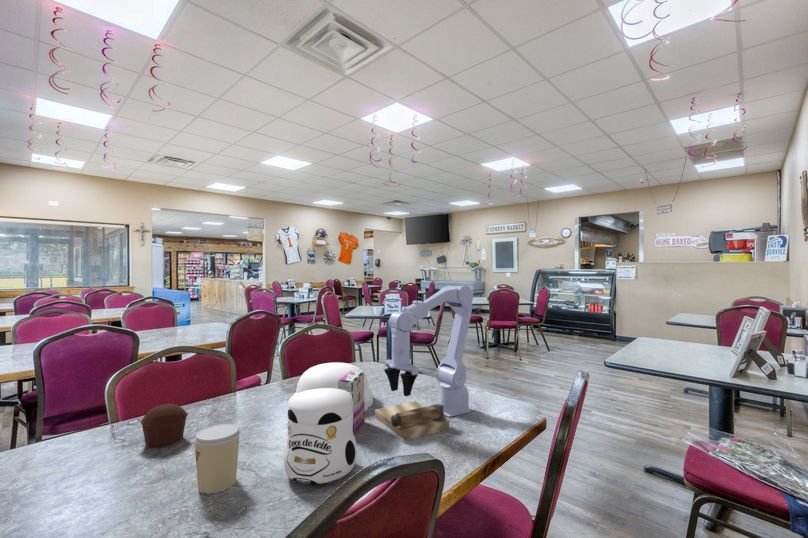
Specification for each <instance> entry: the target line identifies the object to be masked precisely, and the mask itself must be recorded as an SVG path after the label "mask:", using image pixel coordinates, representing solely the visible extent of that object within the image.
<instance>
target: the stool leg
mask: <svg viewBox="0 0 808 538" xmlns="http://www.w3.org/2000/svg"><path fill="white" fill-rule="evenodd" d="M443 416H445V415H444V406H443V405H441V403H436V404H433V405H427V406H425V407H422V408H418V409H413V410H408V411H404V412H399V413H396V415H392V417H391V423H392V425H393V427H397V426H400V427H403V426H407V425H411V424H415V423H419V422H424V421H428V420H432V419H436V418H440V417H443Z"/></svg>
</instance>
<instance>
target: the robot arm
mask: <svg viewBox="0 0 808 538" xmlns="http://www.w3.org/2000/svg"><path fill="white" fill-rule="evenodd" d="M473 299H474V293H473V290H472V289H471V288H470V287H469V286H467V285H449V284H448V285H444V287H443V286H442V287H441V288H440V290H438V291H437V292H436V293H433V294H432V295H431V296H429V297H428V298H426V299H425V300H424V301H422V300H413V301H412V304H410V305H408V306H407V307H402V308H401V310H400V311H394V312H392V313H391V315H390V317H389V319H388V320H387V324H388V327H389V328H390V333H391V359H385V360H384V367H387V368H385V369H384V370H383V371H384V373H385V374H386V377H387V380H388V383H389V386H390V391H391V392H395V391H398V389H399V378H401V382H402V389H403V390H402V391H403V396H404V397H409V396H411V394H412V390H413V386H414V383H415V381H416V379H417V378H418V376H419V367H417V366H416V365H413V364H412V363H410V362H411V361H410V360H411V358H410V355H411V354H410V351H411V349H410V348H411V347H410V346H411V345H410V344H411V343H410V340H411V339H410V335H411V330H412V328H413V326H414V325H415V324H416V323H417V322H418V321H421V320H422V319H424V318H425V317H427V316H428V314H429V311H430V310H433V309H434V308H436V307H438V306H439V305H442V304H443V303H446V304H447V305H448V306H449V307H450V308H452V309H453V311H454V313H455V315H454V320H453V324H452V329H451V334H450V338H449V342H448V347H447V352H446V356H445V357H443V358H442V359H441V360H440V363H439V365H438V367H437V369H436V371H435V377H436V379H437V380H436V381H439V385H440V404H441V405H443V406H444V416H445V417H446V418H447V417H448V418H451V417H454V416H455V417H456V416H459V415H463V414H467V413H471V410H470V409H469V394H470V393H469V390H468V388H467V386H466V385H465V383H466V381H467V375H466V374H467V366H466V365H465V363H464V362H463V361H464V360H463V357H464V356H463V355H464V351H465V346H466V341H467V336H468V331H469V326H470V321H471V317H472V312H473V311H472V308H473V307H472V305H473V304H472V303H473ZM401 371H403V372H404V373H403V372H402V373H401Z"/></svg>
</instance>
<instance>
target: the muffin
mask: <svg viewBox="0 0 808 538" xmlns="http://www.w3.org/2000/svg"><path fill="white" fill-rule="evenodd" d="M188 415H189V413H188V412H187V411H186V410H185V409H184V408H183V407H182V406H180V405H178V404H175V403H164V404H159V405H157V406H155V407H153V408H151V409H150V410H149V411H147V413H146V414H145V415H144V416H143V418H142V419H141V421H140V425H141V426H142V430H143V432H142V433H143V437H144V443H145V446H147V447H148V446H149V447H148V449H155V448H156V449H161V448H165V447H170V446H173V445H175V444H177V443H179V442H181V440H182V439H183V437H184V432H185V427H186V421H187V417H188ZM176 442H177V443H176ZM174 443H175V444H174ZM150 447H151V448H150ZM152 447H153V448H152Z"/></svg>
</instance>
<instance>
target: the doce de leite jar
mask: <svg viewBox="0 0 808 538" xmlns="http://www.w3.org/2000/svg"><path fill="white" fill-rule="evenodd" d="M294 394H295V393H294ZM294 394H293V395H292V396H291V397H290V398H289V399H288V402H287V418H286V419H287V423H286V424H287V437H286V441H285V447H284V450H283V457H282V458H283V459H282V461H283V468H284V471H285V473H286V476H287V477H288V478H289V479H290V480H291V481H292V482H295V483H297V484H299V485H302V486H311V487H315V486H317V487H318V486H325V485H329V484H331V483H335V482H338V481H339V480H341V479H343V478H345V477H346V476H348V475H349V473H351V471H352V470H353V469H354V467H355V465H356V460H357V454H358V451H357V450H358V449H357V448H358V447H357V441H356V437H355V434H354V433H353V399H352V395H351V394H350V392H347V391H345V390H341V389H335V388H320V389H312V390H306V391H303V392H300V393H297V394H295V395H294Z"/></svg>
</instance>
